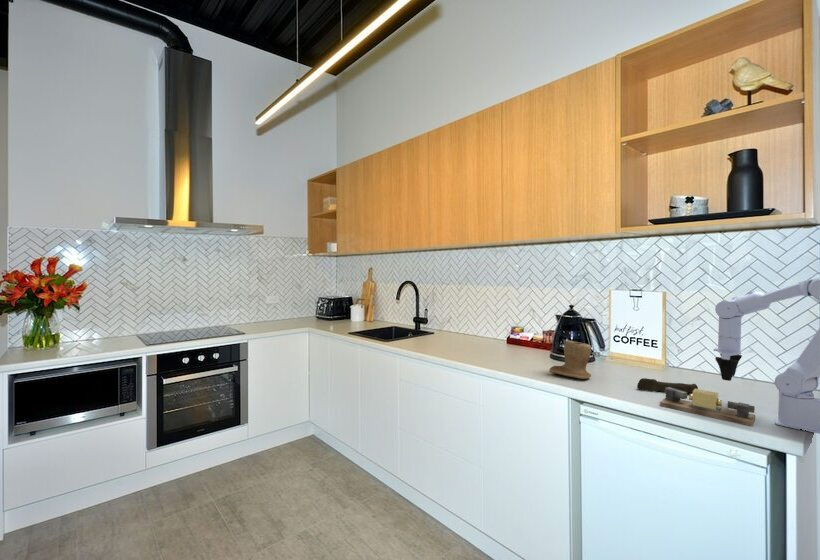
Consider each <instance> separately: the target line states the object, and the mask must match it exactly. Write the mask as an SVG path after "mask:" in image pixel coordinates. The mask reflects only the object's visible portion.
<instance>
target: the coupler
mask: <svg viewBox="0 0 820 560" xmlns="http://www.w3.org/2000/svg"><path fill="white" fill-rule="evenodd" d="M688 395H689V401H691V402H692V405H693V406H698V407H703V408H708V409H712V410H716V409H717V408H718V407H722V404H723V400H722V399H719V392H716V391H709V390H704V389H700V388H698V389H694V390H693V393H692V394H688Z"/></svg>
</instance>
